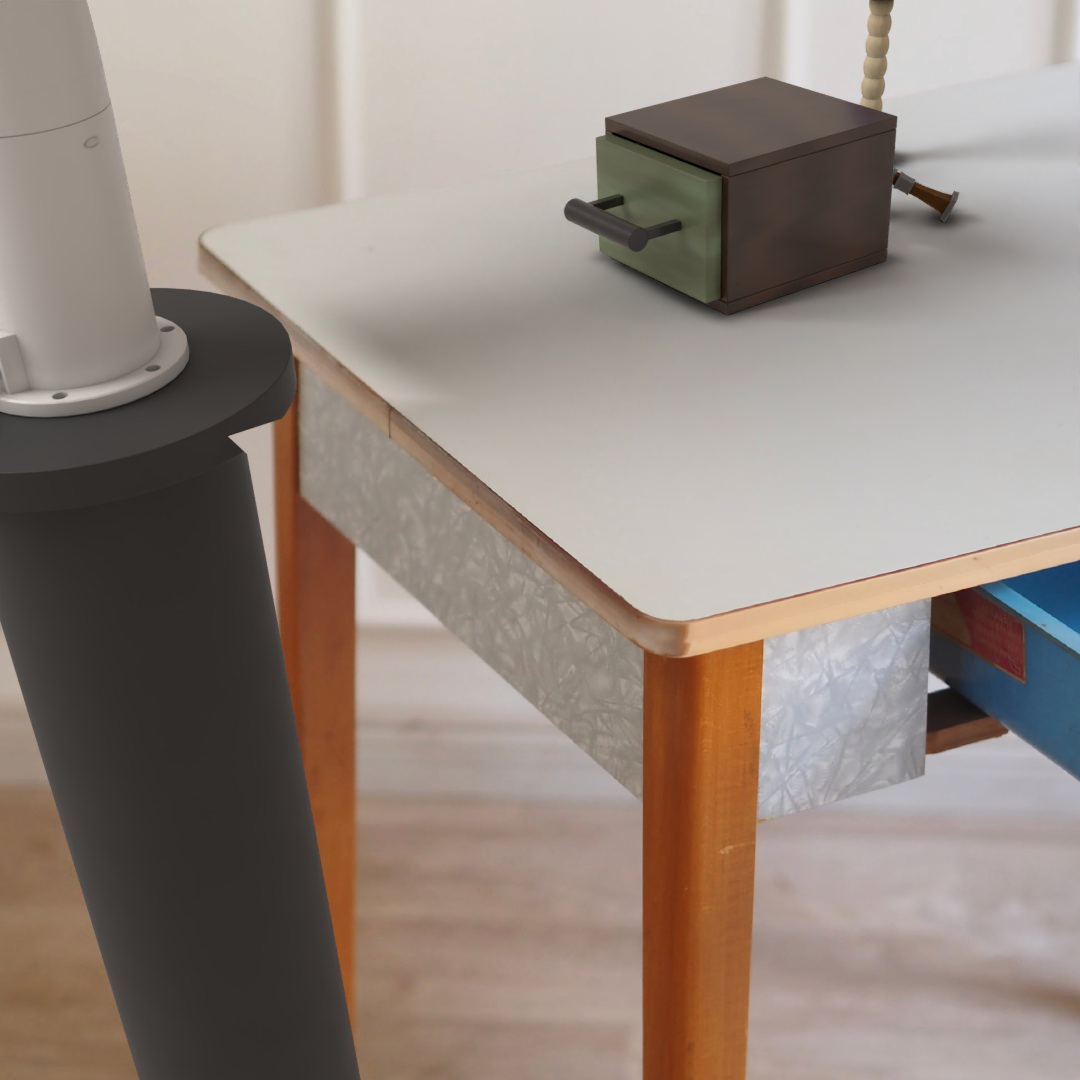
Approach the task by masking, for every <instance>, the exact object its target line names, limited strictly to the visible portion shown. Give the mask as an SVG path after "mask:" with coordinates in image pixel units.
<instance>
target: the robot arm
mask: <svg viewBox="0 0 1080 1080" xmlns="http://www.w3.org/2000/svg"><path fill="white" fill-rule="evenodd" d="M116 124H117V123H116V119H115V113H114V109H113V105H112V100H111V97H110V93H109V88H108V82H107V79H106V74H105V68H104V64H103V60H102V55H101V50H100V46H99V42H98V38H97V33H96V30H95V26H94V22H93V18H92V14H91V11H90V8H89V3H88V0H0V412H3V413H6V414H9V415H16V416H22V417H34V418H55V417H69V416H77V415H84V414H90V413H95V412H99V411H104V410H108V409H112V408H115V407H118V406H122V405H125V404H128V403H131V402H133V401H136V400H138V399H141V398H143V397H146V396H148V395H150V394H152V393H153V392H155V391H157V390H159V389H161V388H163V387H164V386H165V385H167V384H168V383H170V382H171V381H172V380H174V379H175V378H176V377H177V376H178V375H179V374H180V373H181V372H182V371H183V369H184V368H185V366H186V364H187V362H188V360H189V353H190V351H189V346H188V342H187V337H186V334H185V333H184V331H183V330H182V329H181V328H180V327H179V326H177V325H176V324H175V323H173V322H171V321H169V320H167V319H164V318H162V317H159V316H155V312H154V307H153V302H152V297H151V292H150V288H151V287H150V283H149V278H148V273H147V269H146V264H145V260H144V254H143V249H142V245H141V240H140V235H139V230H138V225H137V220H136V217H135V216H136V215H135V211H134V206H133V201H132V197H131V191H130V187H129V182H128V178H127V177H128V176H127V173H126V168H125V167H126V166H125V163H124V158H123V153H122V147H121V142H120V139H119V134H118V129H117V125H116Z"/></svg>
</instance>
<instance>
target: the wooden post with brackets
mask: <svg viewBox="0 0 1080 1080" xmlns="http://www.w3.org/2000/svg"><path fill="white" fill-rule="evenodd" d="M892 189H896V190H898V191H899V192H901V193H903V194H905V195H906V196H909V195H910V196H913V197H915V198H916V199H918V200H920V201H921V202H923V203H924V204H926V205H927V206H929V207H930V208H932V209H934V210H935V211H936V212H937V213H938V214H940V218H939V220H940V221H942V222H943V223H945V222H946V221H947V219H948V217H949V215H950V214H951V212H952V211H953V209H954V208H955V205H957V202H958V200H959V195H960V191H956V190H953V192H952V193H951V194H950V193H947V192H943V191H940V190H937V189H935V188H931V187H929V186H926V185H924V184H921V183H919V182H917V181H916V178H914V177H911V176H909V175H908V174H906V173H904V171H900V172H899V168H896V167H894V169H893V183H892Z"/></svg>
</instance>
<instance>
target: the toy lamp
mask: <svg viewBox="0 0 1080 1080" xmlns="http://www.w3.org/2000/svg"><path fill="white" fill-rule="evenodd" d="M868 1H869V2H868V8H869V11H870V14H869V16H868V18H867V24H866V27H867V32H868V35H867V37H866V39H865V45H864V46H865V53H866V56H865V58H864V60H863V64H862V71H863V75H864V76H863V78H862V80H861V84H860V92H861V95H862V97H861V99H860V100H859V104H858V105H862V106H865V107H868V108H872V109H875V110H878V111H882V112H883V99H882V97H883V95H884V92H885V90H886V81H885V75H886V72H887V71H888V59H887V54H888V52H889V48H890V36H889V34H890V31H891V29H892V24H893V21H892V16H891V13H892V11H893V8H894V4H895V0H868Z"/></svg>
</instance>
